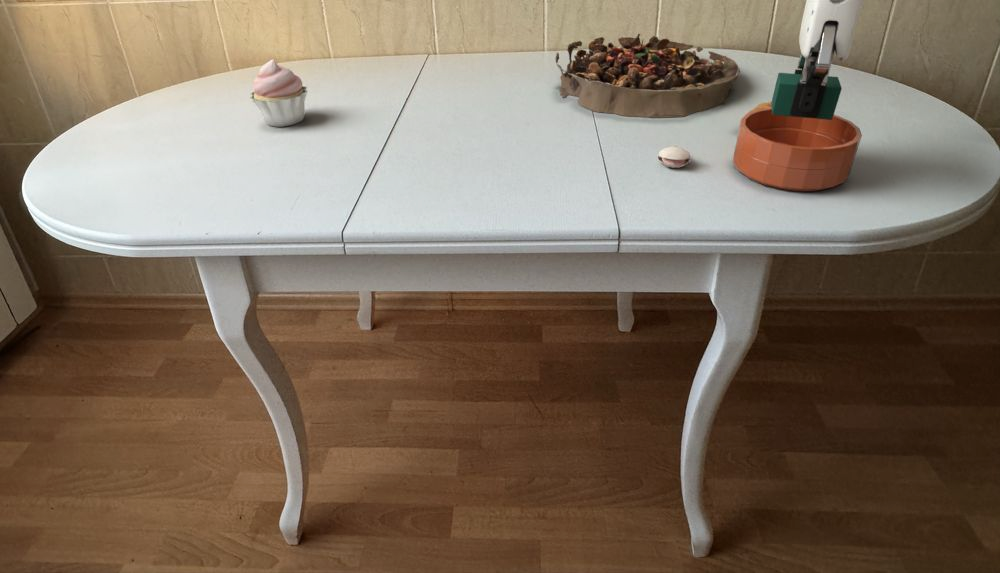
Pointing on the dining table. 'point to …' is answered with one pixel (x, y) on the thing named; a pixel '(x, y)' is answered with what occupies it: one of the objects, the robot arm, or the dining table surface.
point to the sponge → (787, 90)
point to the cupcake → (279, 95)
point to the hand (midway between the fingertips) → (802, 107)
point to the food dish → (646, 78)
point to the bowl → (795, 150)
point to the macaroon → (674, 157)
